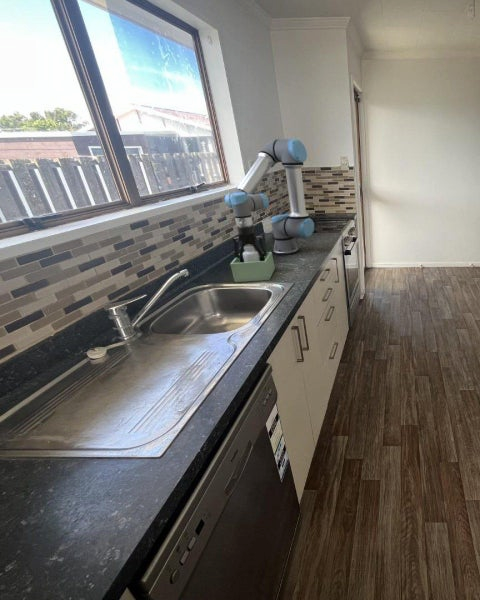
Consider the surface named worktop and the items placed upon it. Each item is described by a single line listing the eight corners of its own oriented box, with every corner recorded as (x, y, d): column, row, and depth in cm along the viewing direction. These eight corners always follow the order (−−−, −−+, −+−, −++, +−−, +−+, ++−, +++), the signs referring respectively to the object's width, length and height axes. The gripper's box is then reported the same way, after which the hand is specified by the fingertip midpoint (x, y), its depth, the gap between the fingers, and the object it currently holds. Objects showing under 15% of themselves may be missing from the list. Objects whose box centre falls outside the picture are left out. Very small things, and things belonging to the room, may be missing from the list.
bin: (243, 271, 178) (239, 253, 174) (274, 268, 181) (271, 251, 177) (234, 282, 164) (230, 263, 159) (269, 279, 166) (265, 261, 162)
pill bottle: (243, 274, 170) (237, 246, 163) (255, 269, 176) (249, 242, 170) (255, 276, 167) (249, 248, 160) (266, 271, 174) (261, 244, 167)
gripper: (220, 228, 156) (231, 273, 166) (265, 226, 159) (274, 270, 169) (225, 225, 163) (235, 268, 173) (268, 223, 166) (276, 265, 176)
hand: (254, 269), depth 171 cm, fingers closed on pill bottle, 8 cm apart
